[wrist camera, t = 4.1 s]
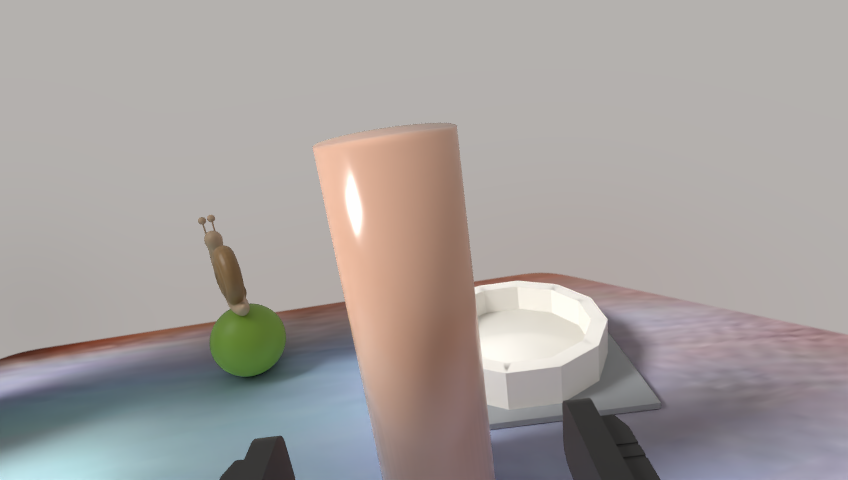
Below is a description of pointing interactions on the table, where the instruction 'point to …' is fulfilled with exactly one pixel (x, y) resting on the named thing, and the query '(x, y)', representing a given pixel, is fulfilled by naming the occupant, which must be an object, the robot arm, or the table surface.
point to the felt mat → (590, 395)
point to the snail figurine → (241, 318)
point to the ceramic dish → (538, 343)
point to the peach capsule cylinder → (410, 297)
